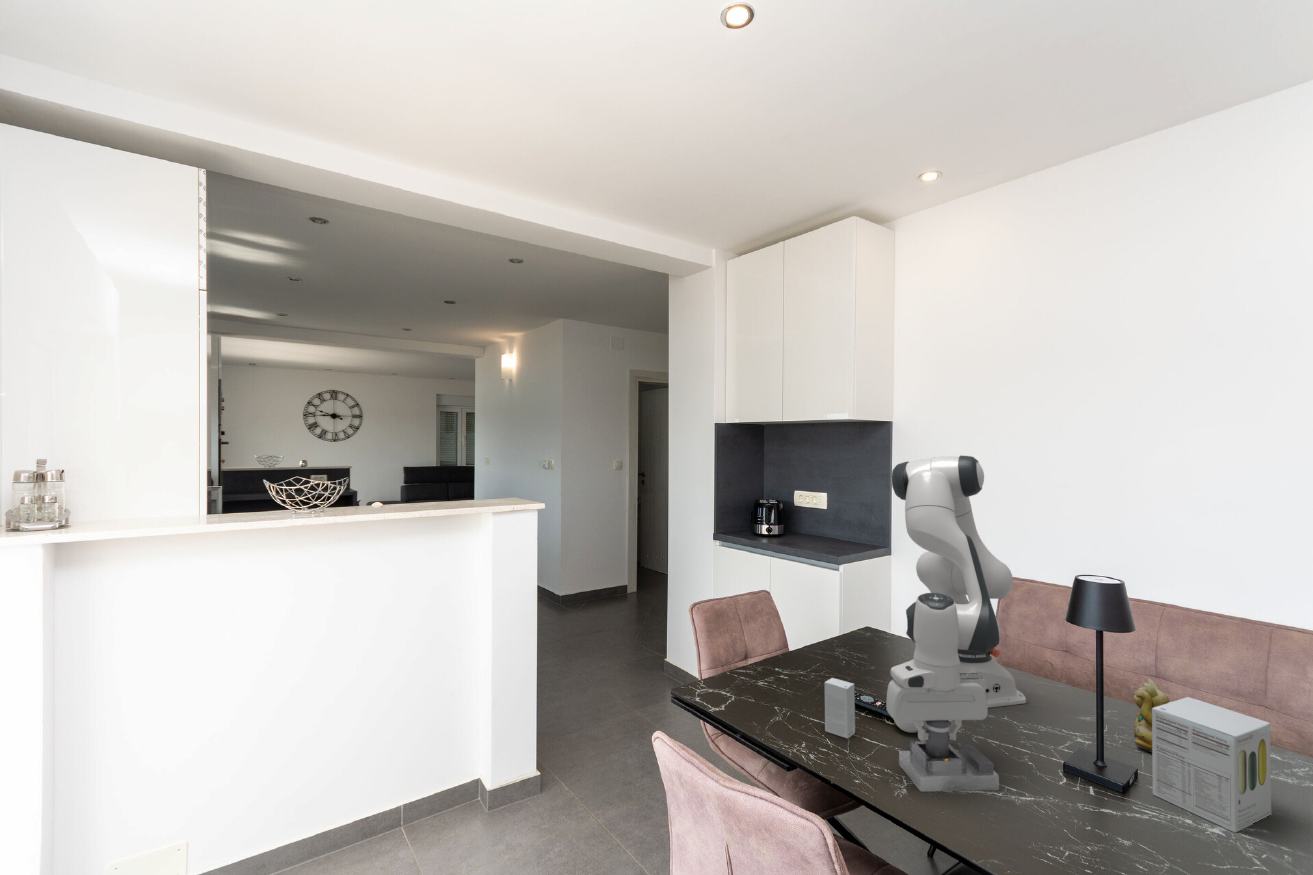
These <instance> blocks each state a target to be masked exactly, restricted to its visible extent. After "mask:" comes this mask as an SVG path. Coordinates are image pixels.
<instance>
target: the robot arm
mask: <svg viewBox="0 0 1313 875" xmlns="http://www.w3.org/2000/svg"><path fill="white" fill-rule="evenodd" d="M891 472H892V473H891V477H890V480H891V487H892V489H893V492H894V494H895V495H896V497H898V498H899V499H900V500H902V501H904V502H905V503H904V504H905V505H904V513H905V515H904V516H905V517H904V519H905V520H904V521H905V527H906V532H907V535H908V536H909V538H910V539H911V540H912V541H913V543H914V544H916V545H917V546H919V547H920V548H922V549H924V550H925V551H926V552H923V553H922V554H920V556H919V557H918V559H917V562H916V564H915V572H916V575H917V577H918V579H919V581H920V582H921V583H922V584H923V585H924V586H925V587H926V588H927V589H928V591H929V592H926V593H921V594H919V595H918V596H917V598H916V600H915V601H914V602H913V603H912V604H910V605H909V606H908V607H907V608H906V610H905V613H906V614H905V615H906V622H907V623H906V625H907V626H906V627H907V629H906V632H905V633H906V635H907V637H908V638H909V639H910V640H911V641H912V642H913V643H914V644H915V648H914V651H913V658H912V659H911V660H908V661H905V662H902V663H900V664H897V665H894V666H892V667H891V668H890V672H889V673H890V676H891V677H892V678H893V679H891V680H890V681H889V683H888V685H887V690H886V705H885V706H886V711H887V714H889V716H890V717H891V718H892V719H893V720H896V721H913V723H914V724H915V726H916V728H917V729H918V732H917V738H918V739H919V740H920V742H921V741H928V740H929V738H928V737H929V733H928V732H927V731H926V728H923V727H921V725H923V723H924V721H933V720H948V721H951V723H950V725H949V742H950V741H952V742H953V741H957V732H958V731H959V730H960V728H961V727H962V721H983V720H985V719H986V718H987V717H988V714H989V712H988V708H996V707H1004V706H1006V707H1007V706H1013V705H1021V704H1027V698H1026V696H1025V695H1024V694H1023V693H1022V691H1019V690H1018V689H1017V686H1016V681H1015V678H1014V676H1013V675H1012V674H1011V672H1009V671H1008V670H1007V669H1005V667H1003V666H1002V665H1001V664H999V663H998V662H997V661H996V660H994V659H993V658H992V656H993V657H995V658H998V657H999V656H1000V654H1001V652H1000V651H999V650H998V649H996V647H997V646H998V645H999V644H1000V639H1001V627H1000V624H999V621H998V619H997V616H996V613H995V611H994V608H993V605H992V602H991V599H993V600H994V599H995V600H999V599H1004V598H1005V597H1007V596H1008V595H1009V593H1010V592H1011V591H1012V589H1013V584H1014V578H1013V574H1012V572H1011V569H1010V568H1009V566H1008V565H1007V564H1005V563H1004V562H1002V561H1001V560H1000V559H998V558H997V557H996V556H995V555H993V553H992V552H991V551H990V550H989V549H988V548H987V546H986V545H985V543H984V542H983V541H982V539H981V538H980V535H979V532H978V530H977V526H976V523H975V518H974V514H973V510H972V509H973V508H972V505H971V501H970V497H972V496H976V495H978V494H979V493H980V492H981V491H982V489H983V485H984V482H985V473H984V470H983V467H982V466H981V464H980V463H979V460H978V459H976V458H975V457H974V456H972V455H959V456H935V457H932V458H925V459H918V460H913V461H909V460H908V461H903V462H901V463H898V464H896V465H895V466H894V468H893V469H892V471H891ZM924 724H925V723H924Z"/></svg>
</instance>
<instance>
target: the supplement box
mask: <svg viewBox="0 0 1313 875" xmlns="http://www.w3.org/2000/svg"><path fill="white" fill-rule="evenodd" d="M1151 753H1152V757H1151V758H1152V760H1151V761H1152V766H1151V767H1152V795H1154V796H1155V797H1158V798H1159V799H1162V800H1164V801H1166V802H1168V803H1171V804H1173V805H1175V806H1176V807H1179V808H1181V809H1183V810H1185V811H1188V812H1189V813H1191V814H1194V815H1196V816H1198V817H1200V818H1202V819H1205V820H1207V821H1208V822H1211V823H1213V824H1215V825H1217V826H1219V827H1221V828H1224V829H1226V830H1229V831H1230V832H1232V833H1234V834H1235V833H1238V832H1240V831H1242V830H1244V829H1246V828H1247V827H1251V826H1252V825H1254V824H1253V823H1255V822H1257V821H1259V820H1261V819H1262V818H1265V819H1266V817H1267V816H1269V815H1271V816H1272V781H1271V780H1272V779H1271V774H1272V773H1271V768H1272V766H1271V723H1270V722H1268V721H1265V720H1262V719H1259V718H1256V717H1253V716H1249V715H1246V714H1243V713H1240V712H1237V711H1234V710H1231V709H1227V708H1225V707H1221V706H1218V705H1215V704H1212V703H1208V702H1206V701H1202V700H1200V699H1195V698H1193V697H1190V696H1186V697H1183V698H1181V699H1178V700H1174V701H1170V702H1169V703H1167V704H1164V705H1160V706H1157V707H1154V708H1152V752H1151ZM1269 817H1270V816H1269ZM1267 818H1268V817H1267ZM1261 821H1262V820H1261ZM1259 822H1260V821H1259ZM1257 823H1258V822H1257ZM1255 824H1256V823H1255Z"/></svg>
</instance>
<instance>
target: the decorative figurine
mask: <svg viewBox="0 0 1313 875" xmlns="http://www.w3.org/2000/svg"><path fill="white" fill-rule="evenodd" d="M1143 685H1144V686H1143V687H1142V686H1141V687H1139V688H1138V689H1137V690H1135V691H1134V695H1133V701H1134V703H1135V705H1136V706H1137V707H1138V708H1139V709H1140V712H1137V713H1136V715H1135V716H1136V719H1135V720H1134V721H1135V722H1134V726H1133V727H1134V729H1133V734H1134V736H1133V737H1134V744H1136V745H1137V748H1138V749H1142V750H1144V751H1146V752H1147V751H1148V752H1150V753H1152V708H1154V707H1157V706H1160V705H1164V704H1167V703H1169V702H1171V701H1170V698H1169V696H1168V695H1167V694H1166V693H1165V692H1163V691H1162V690H1161V688H1160V686H1159V685H1158V683H1157V682H1155V681H1154V680H1153V679H1151V678H1148V679H1147V682H1143Z"/></svg>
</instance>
